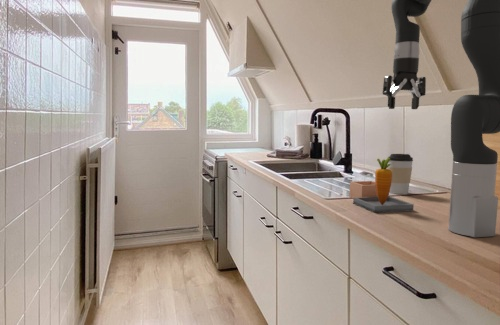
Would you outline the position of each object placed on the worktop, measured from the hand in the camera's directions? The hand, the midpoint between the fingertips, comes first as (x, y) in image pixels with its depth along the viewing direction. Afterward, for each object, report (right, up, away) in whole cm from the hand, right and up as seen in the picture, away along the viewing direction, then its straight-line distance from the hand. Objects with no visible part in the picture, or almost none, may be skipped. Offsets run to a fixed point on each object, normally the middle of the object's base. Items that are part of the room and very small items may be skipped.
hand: (403, 109), depth 125 cm
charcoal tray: (-8, -32, -4) cm, 33 cm away
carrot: (-8, -31, -4) cm, 32 cm away
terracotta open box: (-9, -30, +9) cm, 33 cm away
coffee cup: (+7, -29, +21) cm, 36 cm away
